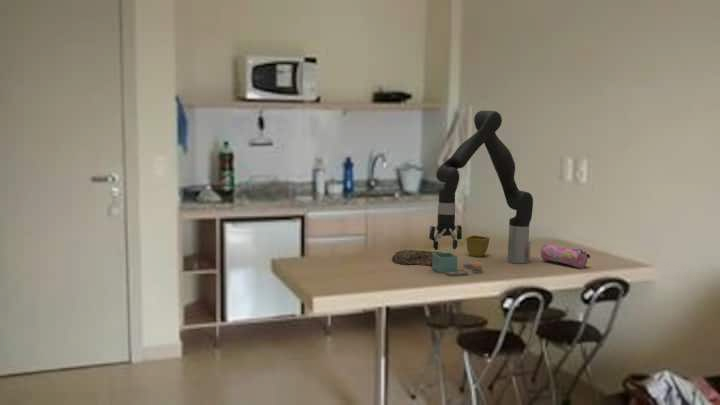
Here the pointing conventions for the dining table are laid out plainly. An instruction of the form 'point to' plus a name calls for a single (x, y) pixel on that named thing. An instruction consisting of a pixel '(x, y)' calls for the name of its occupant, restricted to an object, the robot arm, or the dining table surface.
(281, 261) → the dining table surface
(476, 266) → the ball
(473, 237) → the flower pot
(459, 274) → the card
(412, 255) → the stone relief
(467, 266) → the frame
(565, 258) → the pencil case
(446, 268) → the teal open box
